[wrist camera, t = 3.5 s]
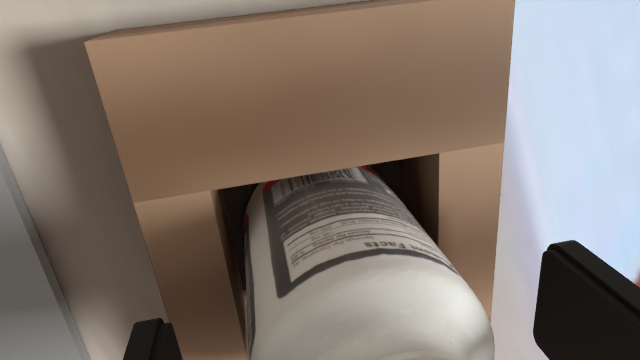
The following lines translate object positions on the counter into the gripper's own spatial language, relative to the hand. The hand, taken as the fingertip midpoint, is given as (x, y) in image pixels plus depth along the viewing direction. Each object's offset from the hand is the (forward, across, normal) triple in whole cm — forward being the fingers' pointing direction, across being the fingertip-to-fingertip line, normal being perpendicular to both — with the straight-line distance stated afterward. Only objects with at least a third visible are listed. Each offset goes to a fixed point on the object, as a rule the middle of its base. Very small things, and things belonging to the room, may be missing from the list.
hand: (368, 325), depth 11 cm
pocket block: (+5, 0, 0) cm, 5 cm away
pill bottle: (+6, 0, 0) cm, 6 cm away
